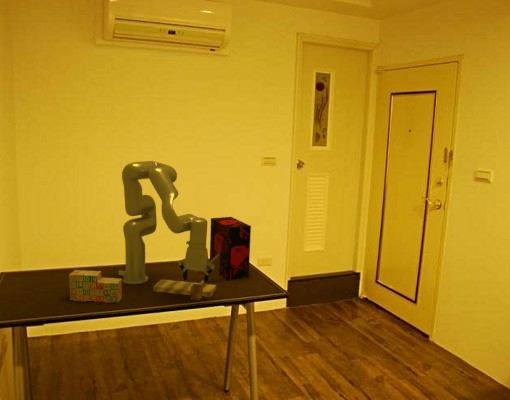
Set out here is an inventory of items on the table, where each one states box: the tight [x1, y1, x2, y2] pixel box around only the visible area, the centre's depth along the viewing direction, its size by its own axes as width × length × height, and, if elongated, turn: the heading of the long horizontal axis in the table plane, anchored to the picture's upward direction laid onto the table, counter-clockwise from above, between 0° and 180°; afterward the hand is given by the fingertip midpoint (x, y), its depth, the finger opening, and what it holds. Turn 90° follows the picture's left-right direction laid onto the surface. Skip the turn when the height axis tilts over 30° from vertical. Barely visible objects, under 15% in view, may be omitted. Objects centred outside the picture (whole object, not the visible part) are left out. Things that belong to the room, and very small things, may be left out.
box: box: [209, 216, 252, 281], centre depth 240 cm, size 23×12×28 cm, turn 29°
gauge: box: [190, 281, 206, 301], centre depth 209 cm, size 4×14×6 cm, turn 171°
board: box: [153, 278, 217, 298], centre depth 213 cm, size 28×10×2 cm, turn 81°
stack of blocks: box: [68, 269, 123, 304], centre depth 198 cm, size 21×6×12 cm, turn 88°
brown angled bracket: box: [196, 253, 220, 283], centre depth 226 cm, size 4×11×18 cm, turn 103°
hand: (195, 280), depth 204 cm, fingers open, 9 cm apart
